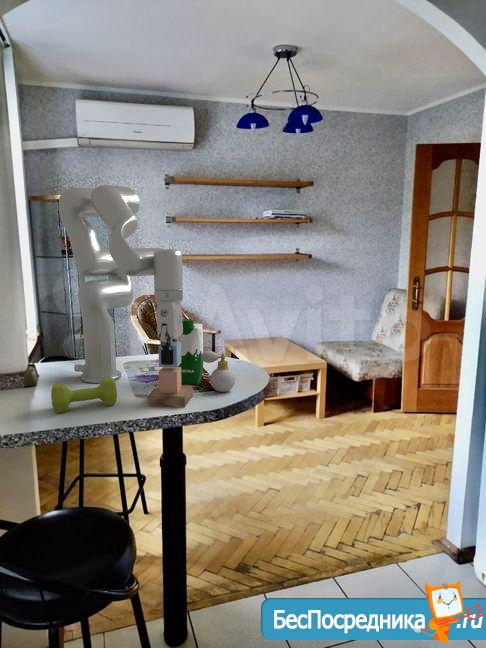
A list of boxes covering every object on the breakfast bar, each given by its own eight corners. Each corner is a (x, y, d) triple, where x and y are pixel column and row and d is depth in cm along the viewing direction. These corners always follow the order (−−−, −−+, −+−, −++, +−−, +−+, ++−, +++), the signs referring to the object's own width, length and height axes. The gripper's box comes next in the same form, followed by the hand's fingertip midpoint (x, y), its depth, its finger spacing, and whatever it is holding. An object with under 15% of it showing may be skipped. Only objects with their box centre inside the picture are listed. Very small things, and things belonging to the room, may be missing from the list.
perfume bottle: (238, 393, 139) (238, 353, 137) (206, 396, 136) (206, 355, 134) (231, 385, 146) (231, 347, 144) (200, 388, 143) (199, 350, 141)
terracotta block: (159, 392, 130) (158, 371, 128) (164, 387, 134) (163, 366, 133) (177, 393, 129) (176, 372, 128) (181, 387, 134) (181, 367, 133)
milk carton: (172, 384, 147) (170, 321, 143) (179, 376, 156) (177, 316, 152) (200, 385, 146) (199, 321, 142) (205, 377, 155) (204, 316, 151)
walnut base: (148, 405, 128) (148, 395, 127) (158, 394, 138) (158, 384, 137) (184, 407, 127) (184, 396, 126) (192, 395, 137) (192, 385, 136)
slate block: (158, 366, 128) (158, 345, 127) (163, 362, 133) (163, 341, 132) (177, 367, 128) (176, 345, 127) (181, 362, 133) (181, 341, 132)
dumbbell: (53, 417, 120) (51, 389, 119) (51, 407, 127) (49, 381, 126) (119, 407, 127) (118, 381, 126) (113, 398, 134) (112, 374, 133)
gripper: (174, 300, 118) (175, 370, 122) (189, 292, 135) (190, 354, 138) (145, 299, 119) (147, 369, 122) (163, 292, 136) (165, 354, 139)
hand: (170, 361), depth 130 cm, fingers closed on slate block, 4 cm apart
